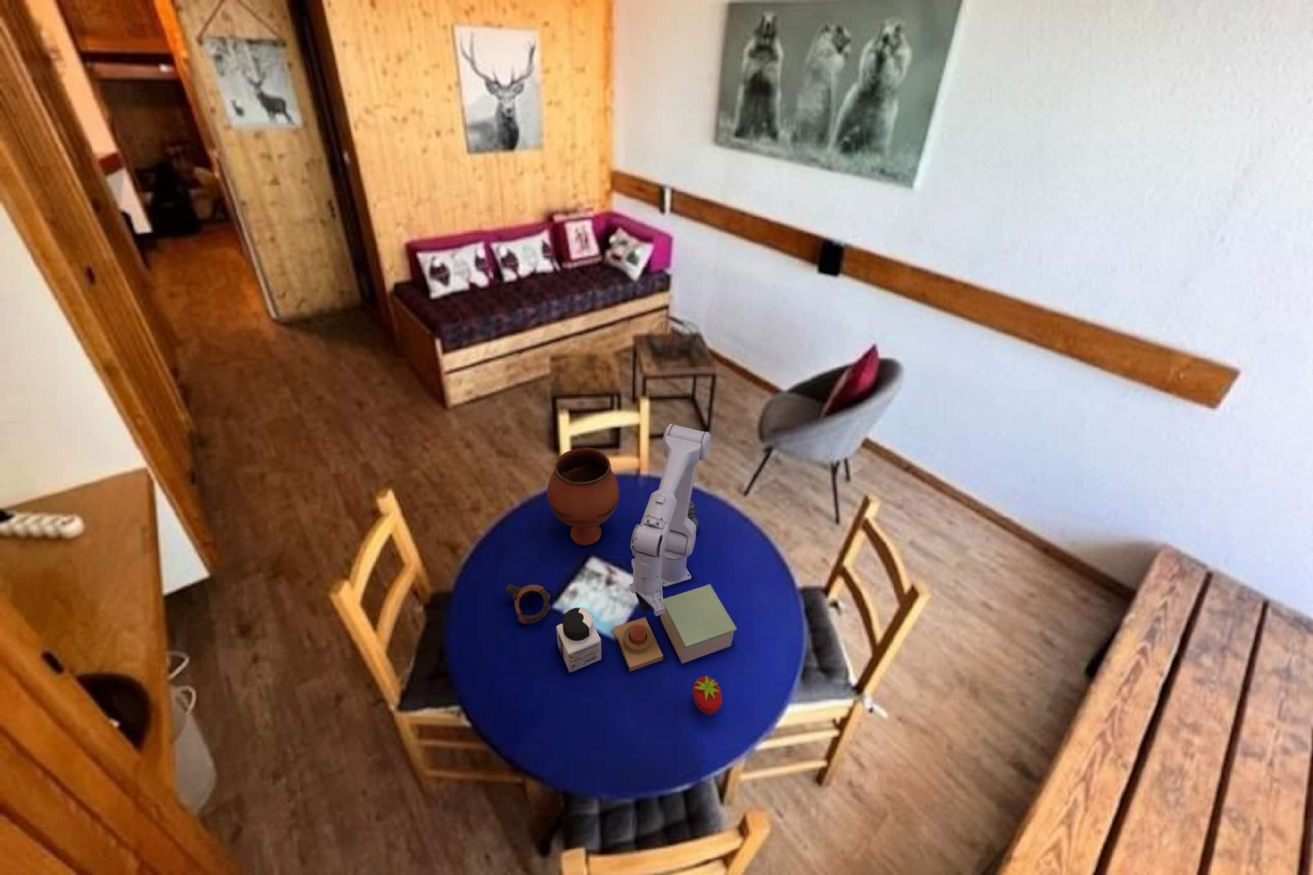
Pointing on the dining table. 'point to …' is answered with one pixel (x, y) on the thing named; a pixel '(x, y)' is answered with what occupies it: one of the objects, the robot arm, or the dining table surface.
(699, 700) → the strawberry
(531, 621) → the rusty metal ring
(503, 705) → the dining table surface
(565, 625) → the container
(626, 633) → the control block
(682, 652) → the wooden box
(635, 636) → the button
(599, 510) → the goblet
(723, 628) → the lid
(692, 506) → the salt shaker
